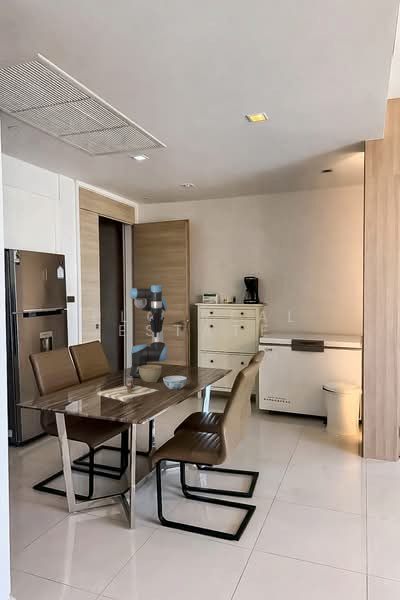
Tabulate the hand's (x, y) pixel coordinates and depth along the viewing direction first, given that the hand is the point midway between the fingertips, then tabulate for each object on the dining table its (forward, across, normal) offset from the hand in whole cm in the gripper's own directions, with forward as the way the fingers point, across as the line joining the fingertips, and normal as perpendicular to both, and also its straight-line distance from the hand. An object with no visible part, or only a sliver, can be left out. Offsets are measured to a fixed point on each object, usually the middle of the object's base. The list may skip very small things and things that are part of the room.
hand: (156, 341), depth 283 cm
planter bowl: (+29, -1, +6) cm, 30 cm away
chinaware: (+28, -8, -24) cm, 38 cm away
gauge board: (+28, -32, -8) cm, 44 cm away
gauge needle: (+26, -29, -5) cm, 39 cm away
